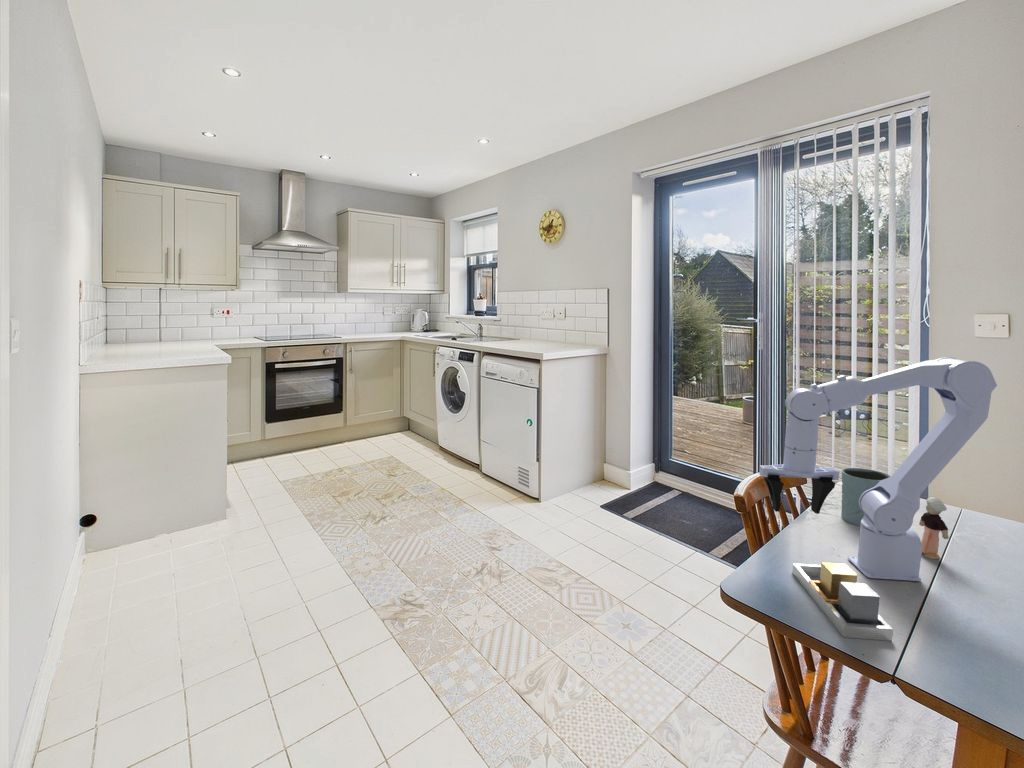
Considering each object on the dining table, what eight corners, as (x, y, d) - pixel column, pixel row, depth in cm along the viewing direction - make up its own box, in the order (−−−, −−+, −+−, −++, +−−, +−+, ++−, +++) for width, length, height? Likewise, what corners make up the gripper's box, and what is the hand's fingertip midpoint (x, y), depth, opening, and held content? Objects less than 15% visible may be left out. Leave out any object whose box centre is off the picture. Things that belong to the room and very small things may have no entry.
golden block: (842, 597, 90) (845, 563, 89) (854, 610, 86) (857, 575, 85) (818, 595, 90) (821, 562, 90) (829, 608, 86) (832, 573, 86)
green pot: (832, 519, 123) (836, 473, 122) (844, 508, 130) (848, 464, 129) (882, 532, 116) (887, 483, 114) (891, 520, 123) (896, 473, 121)
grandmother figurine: (905, 547, 109) (910, 492, 107) (921, 546, 109) (927, 491, 107) (937, 564, 101) (944, 505, 99) (955, 564, 101) (962, 504, 100)
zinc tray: (830, 575, 97) (831, 564, 97) (891, 641, 78) (893, 628, 77) (792, 572, 98) (793, 562, 98) (843, 637, 79) (844, 624, 78)
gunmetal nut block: (862, 619, 83) (865, 583, 82) (875, 634, 79) (879, 596, 78) (836, 617, 84) (839, 581, 83) (848, 632, 80) (852, 594, 79)
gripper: (769, 451, 98) (765, 516, 100) (849, 454, 96) (842, 520, 98) (757, 442, 105) (753, 503, 107) (831, 444, 103) (826, 507, 105)
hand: (795, 510), depth 103 cm, fingers open, 7 cm apart
